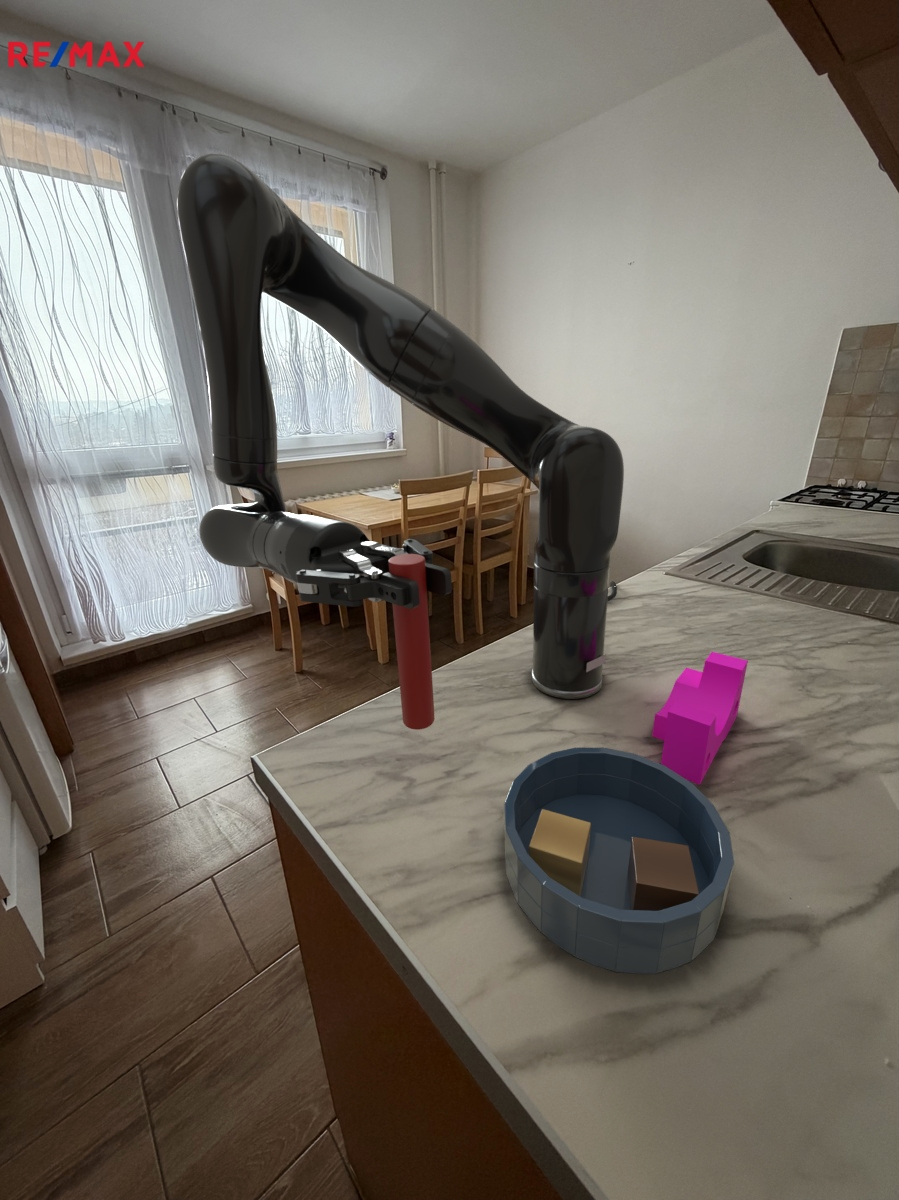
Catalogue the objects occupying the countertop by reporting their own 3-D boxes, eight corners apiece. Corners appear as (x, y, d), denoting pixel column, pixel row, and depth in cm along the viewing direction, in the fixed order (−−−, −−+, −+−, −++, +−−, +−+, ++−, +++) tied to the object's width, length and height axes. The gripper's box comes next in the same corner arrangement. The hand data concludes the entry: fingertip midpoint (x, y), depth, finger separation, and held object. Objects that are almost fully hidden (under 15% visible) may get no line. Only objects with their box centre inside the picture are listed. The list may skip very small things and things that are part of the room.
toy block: (681, 698, 61) (689, 645, 59) (737, 715, 57) (748, 660, 55) (635, 762, 51) (642, 702, 48) (699, 789, 47) (710, 725, 44)
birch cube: (541, 843, 42) (542, 808, 40) (588, 858, 40) (591, 822, 39) (528, 883, 38) (528, 846, 37) (579, 901, 37) (582, 863, 35)
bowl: (530, 777, 50) (531, 732, 48) (711, 819, 44) (720, 770, 42) (478, 928, 36) (476, 874, 34) (733, 1021, 30) (749, 963, 28)
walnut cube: (627, 873, 39) (631, 836, 37) (681, 883, 38) (688, 845, 36) (631, 921, 35) (636, 882, 34) (691, 933, 34) (699, 894, 33)
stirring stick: (412, 707, 48) (399, 552, 41) (439, 714, 46) (431, 555, 40) (397, 725, 45) (381, 562, 39) (426, 733, 44) (414, 566, 38)
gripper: (243, 532, 44) (354, 567, 32) (367, 505, 53) (488, 525, 42) (259, 608, 47) (367, 664, 35) (375, 570, 56) (490, 605, 44)
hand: (432, 589), depth 38 cm, fingers closed on stirring stick, 3 cm apart
